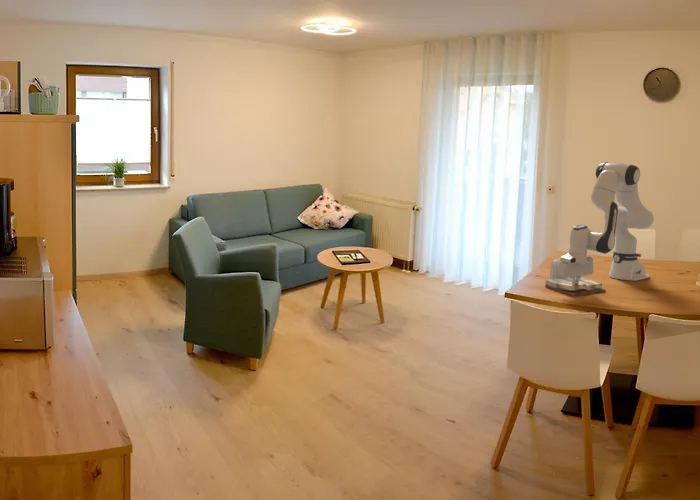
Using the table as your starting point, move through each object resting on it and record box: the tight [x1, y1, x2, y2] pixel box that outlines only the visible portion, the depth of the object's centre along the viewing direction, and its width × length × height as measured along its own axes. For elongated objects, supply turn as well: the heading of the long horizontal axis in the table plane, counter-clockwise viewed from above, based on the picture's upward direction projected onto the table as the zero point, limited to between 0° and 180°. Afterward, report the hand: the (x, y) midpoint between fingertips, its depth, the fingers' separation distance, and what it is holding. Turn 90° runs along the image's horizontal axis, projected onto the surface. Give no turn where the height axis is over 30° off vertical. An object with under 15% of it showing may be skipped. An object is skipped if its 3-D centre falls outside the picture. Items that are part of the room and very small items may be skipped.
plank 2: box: [579, 279, 603, 290], centre depth 356 cm, size 11×9×2 cm
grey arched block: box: [549, 258, 566, 279], centre depth 372 cm, size 10×4×12 cm, turn 123°
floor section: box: [544, 276, 607, 297], centre depth 357 cm, size 22×20×4 cm
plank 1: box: [557, 282, 586, 291], centre depth 351 cm, size 11×9×2 cm
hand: (575, 284), depth 349 cm, fingers closed, pressing on plank 1
